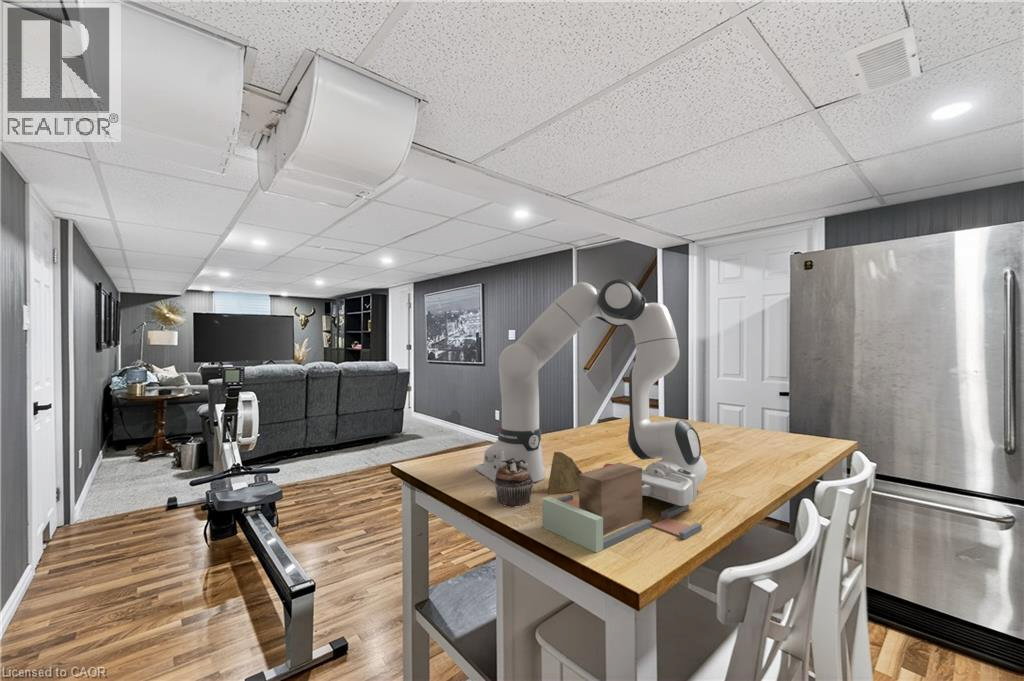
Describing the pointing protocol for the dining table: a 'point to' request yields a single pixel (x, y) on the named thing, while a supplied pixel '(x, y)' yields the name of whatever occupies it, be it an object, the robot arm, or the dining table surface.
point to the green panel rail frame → (589, 527)
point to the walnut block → (612, 494)
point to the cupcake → (513, 483)
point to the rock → (563, 474)
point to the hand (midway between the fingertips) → (629, 491)
